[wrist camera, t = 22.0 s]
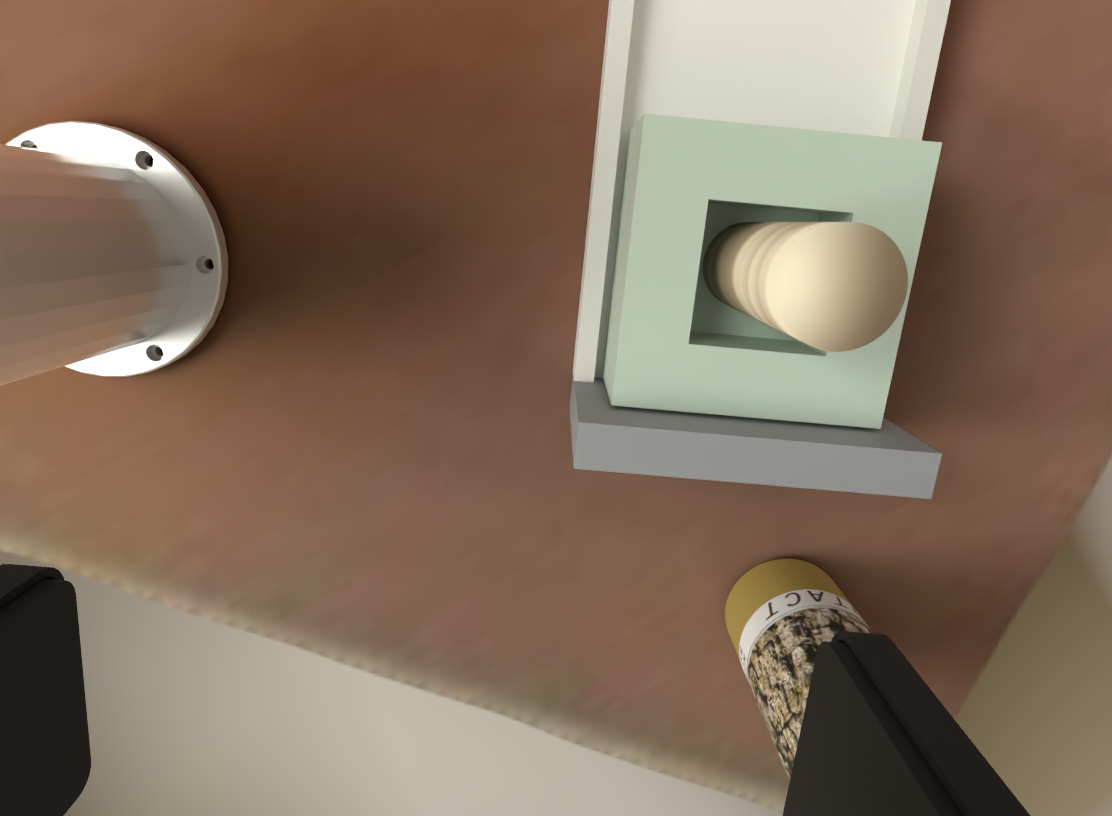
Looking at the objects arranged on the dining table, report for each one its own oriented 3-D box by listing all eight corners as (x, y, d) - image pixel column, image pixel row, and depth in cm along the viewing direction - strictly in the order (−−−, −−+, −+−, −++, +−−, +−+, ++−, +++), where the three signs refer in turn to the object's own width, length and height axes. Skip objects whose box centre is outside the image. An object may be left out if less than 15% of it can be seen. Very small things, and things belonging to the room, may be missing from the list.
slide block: (602, 375, 37) (611, 405, 32) (629, 130, 34) (644, 113, 29) (830, 395, 38) (880, 428, 32) (877, 154, 35) (942, 142, 29)
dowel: (694, 299, 34) (764, 339, 23) (713, 214, 33) (797, 210, 22) (775, 314, 35) (886, 362, 23) (797, 230, 34) (924, 235, 22)
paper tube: (819, 663, 44) (1147, 1220, 19) (709, 646, 43) (904, 1190, 19) (850, 562, 42) (1253, 1037, 18) (736, 544, 42) (988, 1000, 17)
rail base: (569, 406, 39) (573, 468, 30) (628, -197, 32) (660, -374, 23) (839, 429, 40) (931, 498, 30) (958, -162, 33) (1128, -321, 23)
